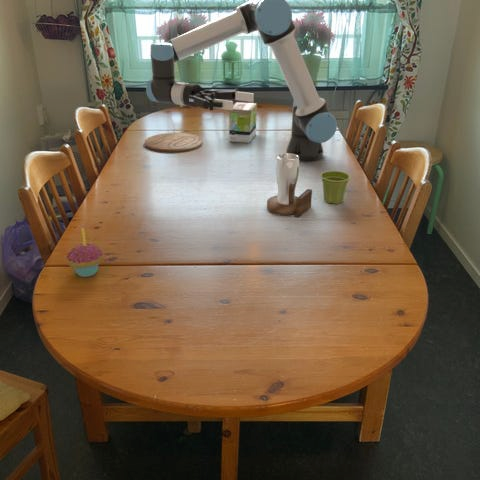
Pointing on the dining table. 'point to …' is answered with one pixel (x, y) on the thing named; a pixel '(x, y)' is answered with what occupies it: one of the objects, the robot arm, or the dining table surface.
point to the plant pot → (334, 186)
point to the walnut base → (297, 209)
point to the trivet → (173, 142)
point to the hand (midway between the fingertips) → (243, 101)
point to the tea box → (242, 122)
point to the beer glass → (287, 178)
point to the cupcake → (85, 258)
